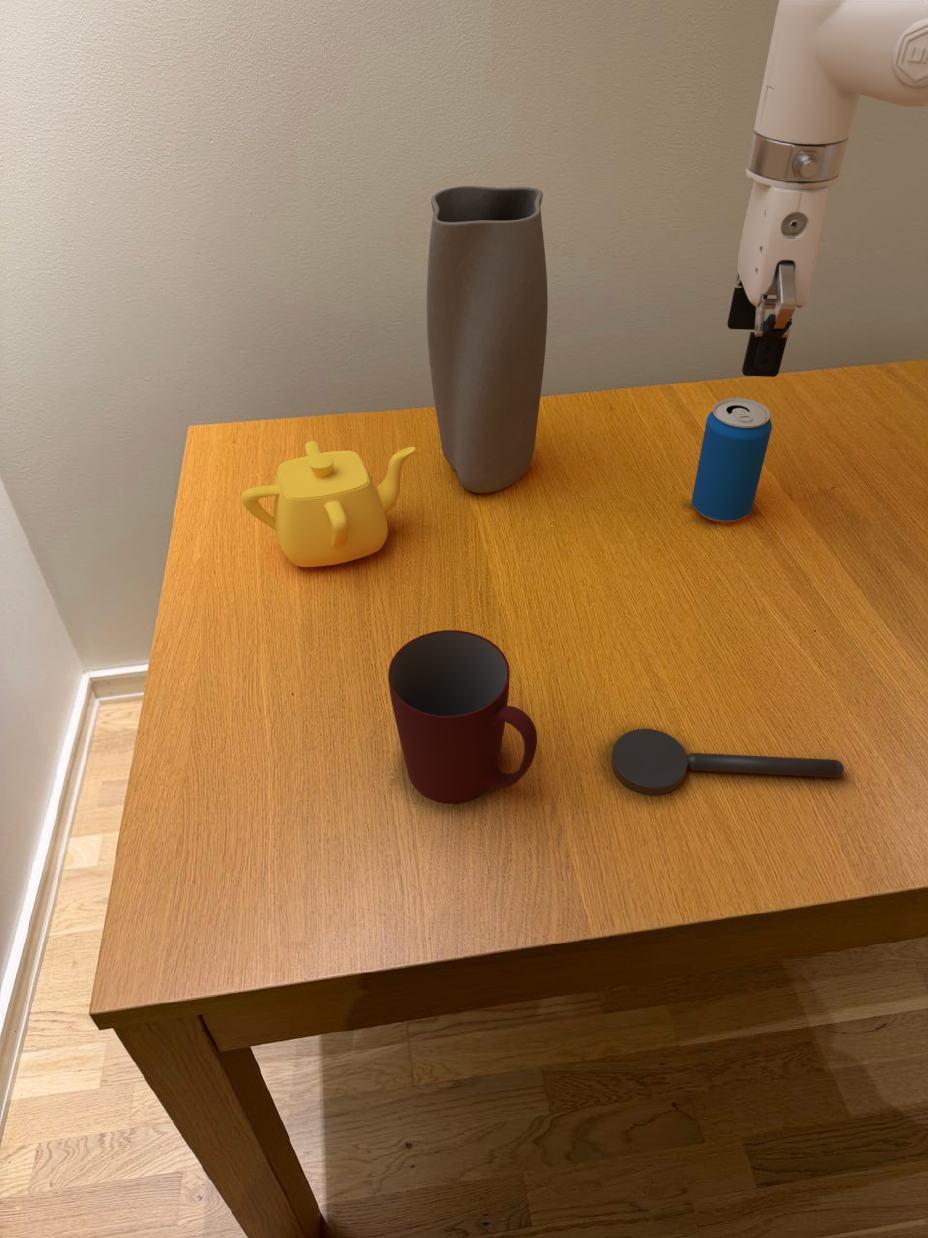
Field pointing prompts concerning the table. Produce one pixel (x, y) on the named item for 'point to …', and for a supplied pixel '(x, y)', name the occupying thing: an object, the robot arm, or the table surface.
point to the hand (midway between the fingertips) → (750, 350)
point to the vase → (487, 329)
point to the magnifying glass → (696, 763)
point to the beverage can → (731, 459)
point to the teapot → (328, 506)
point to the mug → (455, 714)
